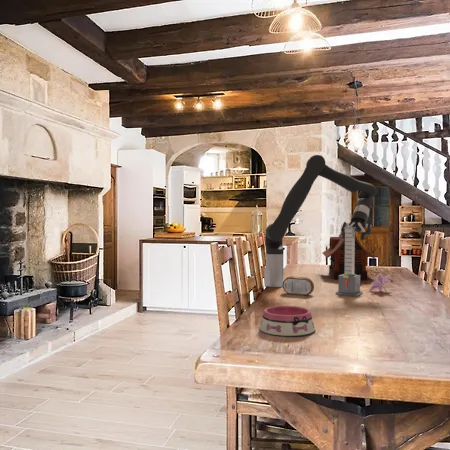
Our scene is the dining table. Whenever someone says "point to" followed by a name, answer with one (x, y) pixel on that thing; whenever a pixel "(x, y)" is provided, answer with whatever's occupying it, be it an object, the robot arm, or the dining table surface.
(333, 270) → the house
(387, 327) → the dining table surface
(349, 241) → the column
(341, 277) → the stand housing
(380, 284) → the lily
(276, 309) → the dog bowl
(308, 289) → the tin
